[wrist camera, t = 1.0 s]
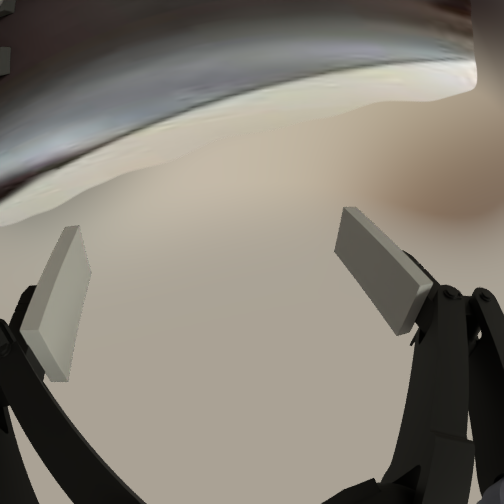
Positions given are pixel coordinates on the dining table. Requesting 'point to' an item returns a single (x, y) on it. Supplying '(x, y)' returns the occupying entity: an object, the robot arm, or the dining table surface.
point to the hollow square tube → (5, 60)
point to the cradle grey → (7, 7)
